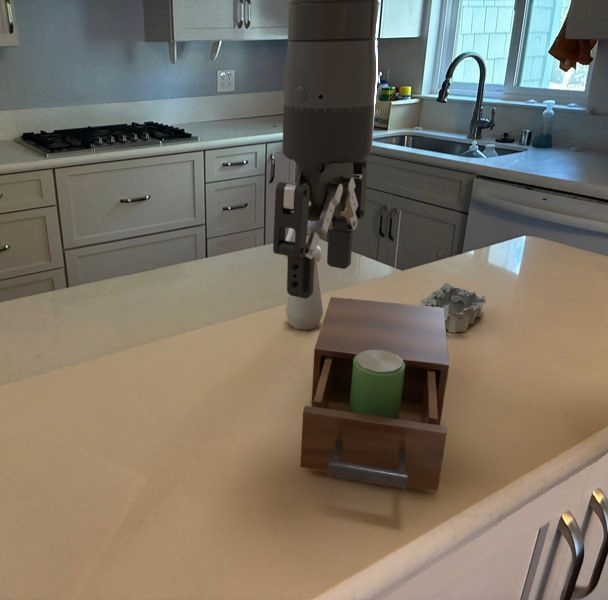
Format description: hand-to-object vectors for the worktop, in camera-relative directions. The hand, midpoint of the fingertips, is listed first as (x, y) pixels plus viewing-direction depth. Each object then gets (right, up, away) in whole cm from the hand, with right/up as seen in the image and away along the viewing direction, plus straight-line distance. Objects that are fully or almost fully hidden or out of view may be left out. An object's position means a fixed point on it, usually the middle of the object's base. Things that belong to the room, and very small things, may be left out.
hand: (320, 280), depth 58 cm
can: (+7, -16, +10) cm, 20 cm away
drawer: (+7, -18, +8) cm, 21 cm away
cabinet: (+11, -13, +21) cm, 27 cm away
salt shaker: (+5, -6, +39) cm, 39 cm away
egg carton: (+28, -5, +40) cm, 49 cm away
